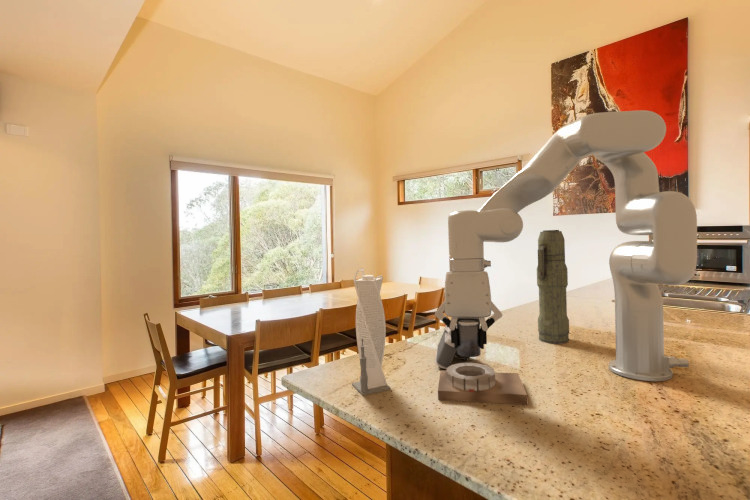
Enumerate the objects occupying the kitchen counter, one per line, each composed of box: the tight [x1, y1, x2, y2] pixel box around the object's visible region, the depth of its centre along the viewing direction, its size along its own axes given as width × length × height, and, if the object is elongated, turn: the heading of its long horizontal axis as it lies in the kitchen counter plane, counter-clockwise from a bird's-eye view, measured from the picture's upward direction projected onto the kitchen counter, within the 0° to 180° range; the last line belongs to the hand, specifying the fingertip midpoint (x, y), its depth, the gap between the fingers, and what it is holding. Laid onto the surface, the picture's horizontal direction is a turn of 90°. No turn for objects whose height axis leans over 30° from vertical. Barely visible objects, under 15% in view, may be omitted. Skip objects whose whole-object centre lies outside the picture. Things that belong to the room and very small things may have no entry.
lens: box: [456, 318, 482, 358], centre depth 84 cm, size 5×5×8 cm
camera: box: [434, 324, 471, 370], centre depth 104 cm, size 9×16×10 cm, turn 170°
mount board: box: [437, 362, 528, 405], centre depth 84 cm, size 18×12×4 cm, turn 77°
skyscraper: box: [351, 267, 392, 396], centre depth 89 cm, size 8×8×28 cm
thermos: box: [536, 229, 570, 345], centre depth 119 cm, size 9×12×35 cm
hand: (468, 346), depth 84 cm, fingers closed on lens, 5 cm apart
